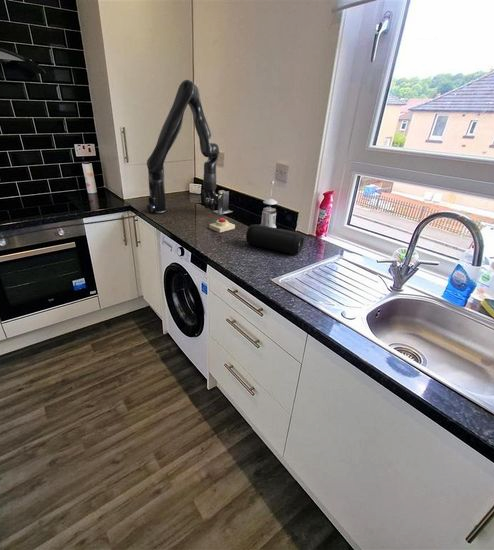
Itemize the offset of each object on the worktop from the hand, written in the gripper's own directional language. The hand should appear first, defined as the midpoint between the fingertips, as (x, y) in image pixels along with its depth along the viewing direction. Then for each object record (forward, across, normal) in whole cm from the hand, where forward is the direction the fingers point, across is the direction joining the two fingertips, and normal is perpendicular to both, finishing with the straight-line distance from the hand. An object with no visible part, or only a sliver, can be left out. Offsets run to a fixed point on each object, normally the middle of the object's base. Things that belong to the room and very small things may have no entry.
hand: (209, 209), depth 185 cm
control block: (+4, +21, -8) cm, 23 cm away
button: (+1, +21, -8) cm, 23 cm away
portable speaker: (+5, +57, -7) cm, 58 cm away
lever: (-4, 0, +6) cm, 7 cm away
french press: (+4, +34, +15) cm, 37 cm away
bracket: (+4, 0, +11) cm, 12 cm away
